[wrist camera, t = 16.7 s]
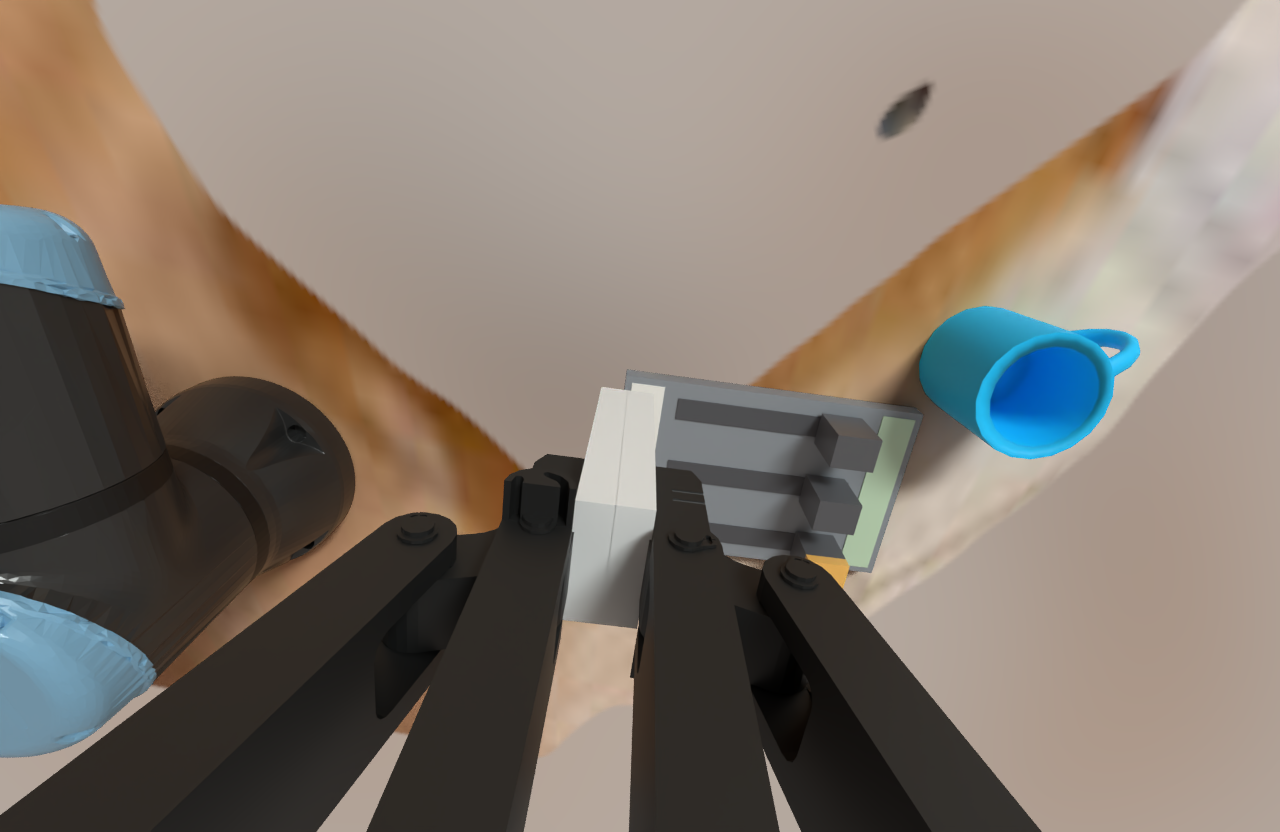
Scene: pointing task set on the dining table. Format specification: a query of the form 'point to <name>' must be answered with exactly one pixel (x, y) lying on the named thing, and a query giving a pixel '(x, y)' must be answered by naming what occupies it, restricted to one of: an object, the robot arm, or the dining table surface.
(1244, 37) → the dining table surface
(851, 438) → the block
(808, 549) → the breaker
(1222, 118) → the dining table surface
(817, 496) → the breaker
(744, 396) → the panel
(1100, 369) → the mug
